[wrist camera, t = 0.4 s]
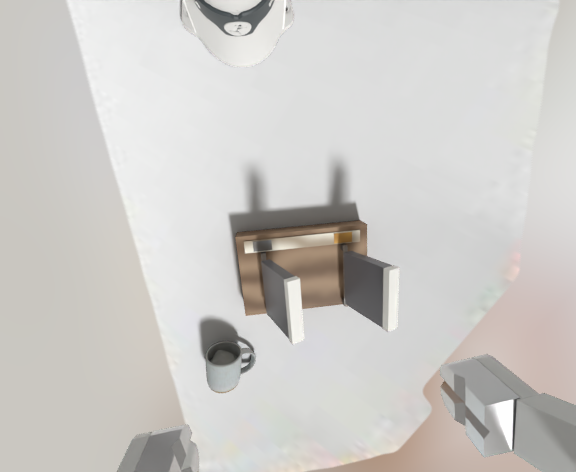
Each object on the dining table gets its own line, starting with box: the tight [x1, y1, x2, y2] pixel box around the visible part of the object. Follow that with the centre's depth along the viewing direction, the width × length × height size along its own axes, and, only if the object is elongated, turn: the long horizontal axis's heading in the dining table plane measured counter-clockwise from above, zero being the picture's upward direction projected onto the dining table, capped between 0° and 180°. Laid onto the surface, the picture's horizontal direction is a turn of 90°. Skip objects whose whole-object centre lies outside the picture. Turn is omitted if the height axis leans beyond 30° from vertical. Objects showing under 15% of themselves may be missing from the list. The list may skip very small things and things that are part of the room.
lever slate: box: [261, 259, 304, 345], centre depth 47 cm, size 11×2×11 cm, turn 4°
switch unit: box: [235, 220, 367, 316], centre depth 55 cm, size 17×26×6 cm, turn 94°
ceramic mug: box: [205, 341, 256, 393], centre depth 58 cm, size 11×8×8 cm
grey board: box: [344, 251, 399, 332], centre depth 48 cm, size 11×2×11 cm, turn 4°
